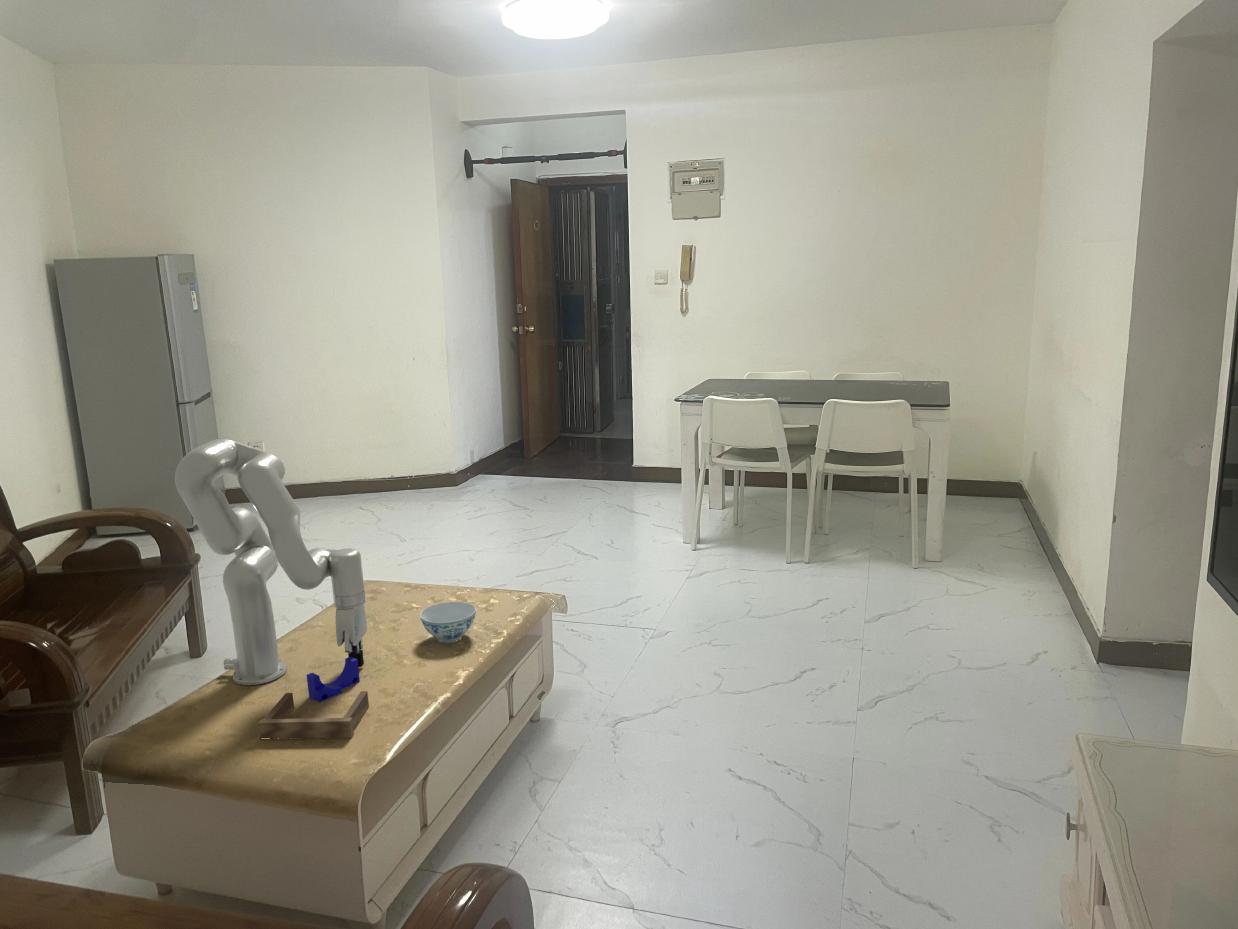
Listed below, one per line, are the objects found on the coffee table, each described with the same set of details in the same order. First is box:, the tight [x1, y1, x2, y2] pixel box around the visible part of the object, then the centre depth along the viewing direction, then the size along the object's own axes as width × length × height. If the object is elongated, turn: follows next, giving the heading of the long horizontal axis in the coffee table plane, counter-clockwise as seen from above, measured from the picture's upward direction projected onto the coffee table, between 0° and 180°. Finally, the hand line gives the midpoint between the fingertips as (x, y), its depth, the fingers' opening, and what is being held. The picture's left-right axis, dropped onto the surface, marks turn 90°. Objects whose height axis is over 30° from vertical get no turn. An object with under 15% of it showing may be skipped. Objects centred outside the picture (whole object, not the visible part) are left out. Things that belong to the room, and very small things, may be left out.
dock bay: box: [257, 690, 370, 740], centre depth 189 cm, size 20×14×4 cm
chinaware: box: [419, 600, 477, 644], centre depth 232 cm, size 15×15×8 cm
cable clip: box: [306, 657, 361, 703], centre depth 204 cm, size 12×4×6 cm, turn 141°
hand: (356, 665), depth 216 cm, fingers closed
